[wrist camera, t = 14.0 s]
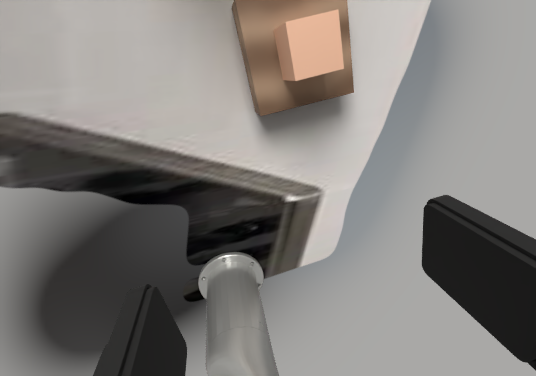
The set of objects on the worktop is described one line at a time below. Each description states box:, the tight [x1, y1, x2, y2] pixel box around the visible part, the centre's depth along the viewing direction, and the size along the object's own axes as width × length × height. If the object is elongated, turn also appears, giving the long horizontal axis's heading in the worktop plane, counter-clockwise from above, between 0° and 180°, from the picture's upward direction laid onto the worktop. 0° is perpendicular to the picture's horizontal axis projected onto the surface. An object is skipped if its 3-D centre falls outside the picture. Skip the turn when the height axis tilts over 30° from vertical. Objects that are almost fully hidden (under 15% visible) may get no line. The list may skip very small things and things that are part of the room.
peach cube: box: [274, 10, 344, 81], centre depth 33 cm, size 6×6×6 cm
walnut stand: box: [232, 0, 354, 116], centre depth 38 cm, size 14×14×5 cm
